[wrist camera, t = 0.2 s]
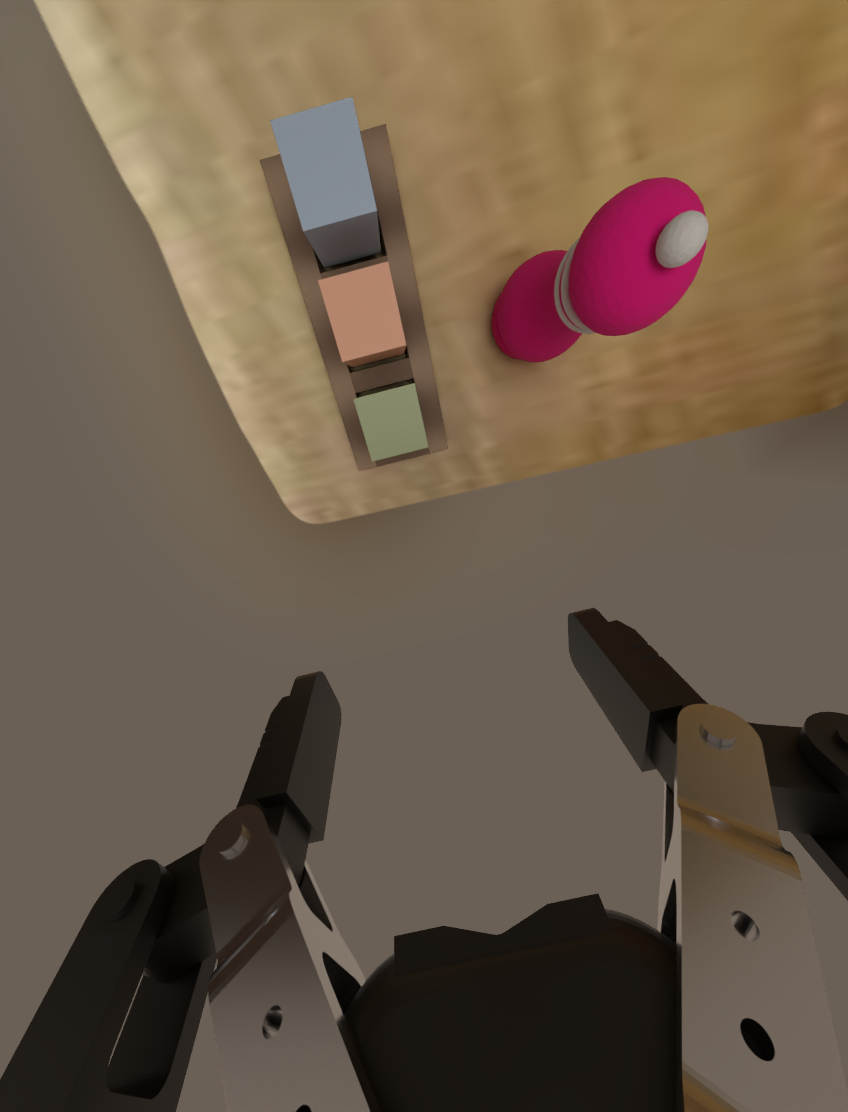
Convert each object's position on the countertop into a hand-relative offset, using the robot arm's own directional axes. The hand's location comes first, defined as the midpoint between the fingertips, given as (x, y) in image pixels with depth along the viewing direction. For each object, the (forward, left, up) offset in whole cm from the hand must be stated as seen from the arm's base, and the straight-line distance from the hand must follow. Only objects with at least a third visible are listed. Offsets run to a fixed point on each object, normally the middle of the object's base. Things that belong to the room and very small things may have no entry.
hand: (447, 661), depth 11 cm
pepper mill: (-11, +14, -29) cm, 34 cm away
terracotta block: (-13, 0, -26) cm, 29 cm away
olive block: (-6, 0, -26) cm, 27 cm away
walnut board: (-13, 0, -29) cm, 31 cm away
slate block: (-20, 0, -26) cm, 33 cm away
